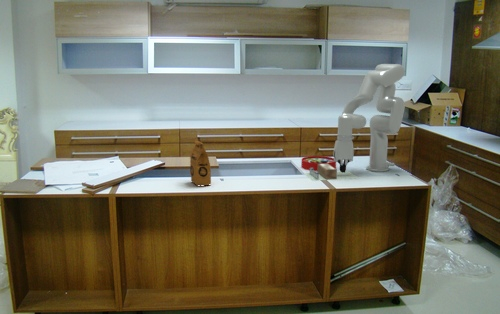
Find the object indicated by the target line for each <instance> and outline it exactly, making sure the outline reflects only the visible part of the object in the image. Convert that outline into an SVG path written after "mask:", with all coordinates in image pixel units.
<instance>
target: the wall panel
mask: <svg viewBox="0 0 500 314" xmlns="http://www.w3.org/2000/svg"><path fill="white" fill-rule="evenodd" d="M303 175H305V176H306V177H307V178H308V179H310V180H311V181H312V182H316V181H333V180H335V181H336V180H352V179H359V177H358V176H357V175H355V174H354V173H352V172H350V171H348V170H346V171H345V173H344V172H343V173H342V172H340V170H338V171H337V179H325V178H323V177H322V176H321V175H319V180H317V179H316V178H314V177H313V176H312V175H311V174H310V172H304V173H303Z"/></svg>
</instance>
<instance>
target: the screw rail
mask: <svg viewBox="0 0 500 314" xmlns="http://www.w3.org/2000/svg"><path fill="white" fill-rule="evenodd" d="M309 169H310V170H309V173H310V174H311V175H312V176H313V177H314V178H316V179H317V181H320V180H319V172H318V171H314V170H313V169H314V168H309Z"/></svg>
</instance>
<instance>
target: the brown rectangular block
mask: <svg viewBox="0 0 500 314" xmlns="http://www.w3.org/2000/svg"><path fill="white" fill-rule="evenodd" d="M317 171H318V172H319V175H321V176H322V177H323V178H325V179H337V172H338V169H337V168H334V167H332V166H331V165H329V164H318V168H317ZM337 180H338V179H337Z"/></svg>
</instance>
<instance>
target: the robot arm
mask: <svg viewBox="0 0 500 314" xmlns="http://www.w3.org/2000/svg"><path fill="white" fill-rule="evenodd" d="M405 72H406V71H405V67H404V66H403V65H402V64H399V63H395V64H394V63H381V64H377V65H376V67H375V68H374V70H369V71H368V72H366V73H365V76H364V78H363V80H362V83H361V85H360V87H359V90H358V93H357V94H356V95H355V96H354V97H353V98H352V99H351V100H350V101H348V102H347V104H346V105H345V106H344V109H343V111H342V113H341V114H340V115H339V117H338V120H337V123H338V124H337V139H336V140H335V143H334V145H333V146H334V147H333V154H332V155H333V156H332V158H334V161H335V162H336V163H338V164H339V171H340V172H342V173H343V172H344V173H345V171H347V166H348V164H349V163H350V162H353V161H354V152H355V151H354V143H353V140H354V139H355V136H353V129H356V130H357V129H358V130H360V129H362V128H363V129H364V127H365V126H366V125H367V119H366V117H365V116H364V115H361V114H357V113H354V112H355V111H356V110H357V109H359V107H361V106H364V105H367V104H368V103H369V104H370V102H372V101H373V100H374V97H375V95H376V92H377V90H378V88H379V91H378V92H379V93H378V96H377V99H376V100H377V101H376V107H375V108H376V111H377V112H379V113H382V114H375V115H372V117H371V118H370V120H369V129H370V144H369V145H370V146H369V164H368V165H366V167H365V168H366V170H367V171H371V172H376V173H377V172H383V173H384V172H388V171H389V170H390V168H389V167H395V162H389V161H387V159H388V158H387V157H388V146H389V143H388V142H389V140H388V139H389V138H388V135H387V134H393V135H394V134H397V133H398V132H399V131H400V129H401V125H402V122H403V118H404V113H405V108H406V107H405V105H406V104H405V101H404V99H403V98H402V97H399V96H395V95H396V84H395V83H397V82H398V81H400V80H402V79H403V77H404V76H405ZM383 114H385V115H383ZM386 114H387V115H386ZM388 114H389V115H388Z"/></svg>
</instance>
